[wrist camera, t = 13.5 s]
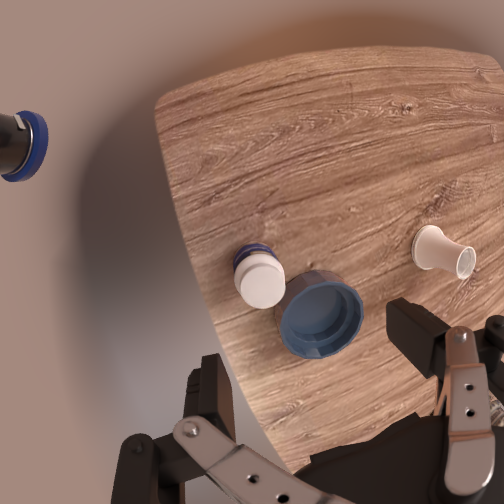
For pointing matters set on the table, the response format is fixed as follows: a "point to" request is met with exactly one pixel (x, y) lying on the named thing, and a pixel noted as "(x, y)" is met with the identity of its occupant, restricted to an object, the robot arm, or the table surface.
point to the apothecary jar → (496, 413)
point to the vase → (442, 252)
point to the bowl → (318, 315)
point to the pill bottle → (258, 275)
